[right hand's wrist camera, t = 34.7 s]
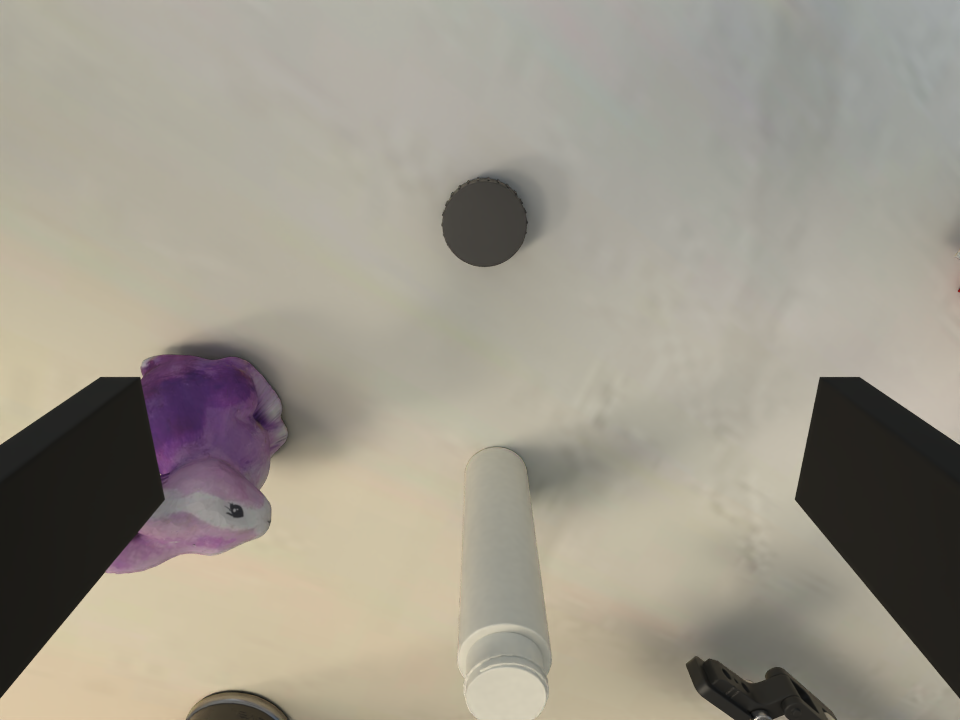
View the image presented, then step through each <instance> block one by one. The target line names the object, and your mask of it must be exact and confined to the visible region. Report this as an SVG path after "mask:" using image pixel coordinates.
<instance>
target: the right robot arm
mask: <svg viewBox="0 0 960 720" xmlns="http://www.w3.org/2000/svg"><path fill="white" fill-rule="evenodd" d="M164 500H165V497H164V492H163V487H162V482H161V477H160V472H159V467H158V462H157V457H156V453H155V448H154V443H153V438H152V433H151V428H150V423H149V418H148V413H147V408H146V403H145V399H144V394H143V389H142V384H141V379H140V377H100V378H98V379H97V380H96V381H94V382H93V383H91V384H90V385H88V386H87V387H85V388H84V389H82V390H81V391H79V392H78V393H76V394H75V395H73V396H72V397H70V398H69V399H67V400H66V401H65V402H63V403H62V404H60V405H59V406H57V407H56V408H54V409H53V410H51V411H50V412H48V413H47V414H45V415H44V416H42V417H41V418H39V419H38V420H36V421H35V422H34V423H32V424H31V425H29V426H28V427H26V428H25V429H23V430H22V431H20V432H19V433H17V434H16V435H14V436H13V437H11V438H10V439H8V440H7V441H5V442H4V443H3V444H1V445H0V698H1V697H2V696H3V695H4V693H5V692H6V691H7V690H8V688H9V687H10V686H11V685H12V684H13V682H14V681H15V680H16V679H17V678H18V676H19V675H20V674H21V673H22V672H23V670H24V669H25V668H26V667H27V666H28V664H29V663H30V662H31V661H32V660H33V658H34V657H35V656H36V655H37V654H38V652H39V651H40V650H41V649H42V647H43V646H44V645H45V644H46V643H47V641H48V640H49V639H50V638H51V637H52V635H53V634H54V633H55V632H56V631H57V629H58V628H59V627H60V626H61V625H62V623H63V622H64V621H65V620H66V619H67V617H68V616H69V615H70V614H71V613H72V611H73V610H74V609H75V608H76V606H77V605H78V604H79V603H80V602H81V600H82V599H83V598H84V597H85V596H86V594H87V593H88V592H89V591H90V590H91V588H92V587H93V586H94V585H95V584H96V582H97V581H98V580H99V579H100V578H101V576H102V575H103V574H104V573H105V572H106V570H107V569H108V568H109V567H110V565H111V564H112V563H113V562H114V561H115V559H116V558H117V557H118V556H119V555H120V553H121V552H122V551H123V550H124V549H125V547H126V546H127V545H128V544H129V543H130V541H131V540H132V539H133V538H134V537H135V535H136V534H137V533H138V532H139V531H140V529H141V528H142V527H143V526H144V524H145V523H146V522H147V521H148V520H149V518H150V517H151V516H152V515H153V514H154V512H155V511H156V510H157V509H158V508H159V506H160V505H161V504H162V503H163V502H164ZM795 500H796V502H797V503H798V504H799V505H800V506H801V508H802V509H803V510H804V511H805V512H806V514H807V515H808V516H809V517H810V518H811V520H812V521H813V522H814V523H815V524H816V526H817V527H818V528H819V529H820V531H821V532H822V533H823V534H824V535H825V537H826V538H827V539H828V540H829V541H830V543H831V544H832V545H833V546H834V547H835V549H836V550H837V551H838V552H839V553H840V555H841V556H842V557H843V558H844V559H845V561H846V562H847V563H848V564H849V565H850V567H851V568H852V569H853V570H854V572H855V573H856V574H857V575H858V576H859V578H860V579H861V580H862V581H863V582H864V584H865V585H866V586H867V587H868V588H869V590H870V591H871V592H872V593H873V594H874V596H875V597H876V598H877V599H878V600H879V602H880V603H881V604H882V605H883V606H884V608H885V609H886V610H887V611H888V613H889V614H890V615H891V616H892V617H893V619H894V620H895V621H896V622H897V623H898V625H899V626H900V627H901V628H902V629H903V631H904V632H905V633H906V634H907V635H908V637H909V638H910V639H911V640H912V641H913V643H914V644H915V645H916V646H917V647H918V649H919V650H920V651H921V652H922V654H923V655H924V656H925V657H926V658H927V660H928V661H929V662H930V663H931V664H932V666H933V667H934V668H935V669H936V670H937V672H938V673H939V674H940V675H941V676H942V678H943V679H944V680H945V681H946V682H947V684H948V685H949V686H950V687H951V688H952V690H953V691H954V692H955V693H956V695H957V696H958V697H959V698H960V445H959V444H957V443H956V442H955V441H953V440H952V439H950V438H949V437H947V436H946V435H944V434H943V433H941V432H940V431H938V430H937V429H935V428H934V427H932V426H931V425H929V424H928V423H926V422H925V421H924V420H922V419H921V418H919V417H918V416H916V415H915V414H913V413H912V412H910V411H909V410H907V409H906V408H904V407H903V406H901V405H900V404H898V403H897V402H895V401H894V400H893V399H891V398H890V397H888V396H887V395H885V394H884V393H882V392H881V391H879V390H878V389H876V388H875V387H873V386H872V385H870V384H869V383H867V382H866V381H864V380H863V379H862V378H860V377H820V379H819V384H818V389H817V394H816V399H815V403H814V408H813V413H812V418H811V423H810V428H809V433H808V438H807V443H806V448H805V452H804V457H803V462H802V467H801V472H800V477H799V482H798V487H797V492H796V497H795Z"/></svg>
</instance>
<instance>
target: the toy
mask: <svg viewBox="0 0 960 720" xmlns="http://www.w3.org/2000/svg"><path fill="white" fill-rule="evenodd" d="M954 257H956V258H958V259H960V250H959V251H958V252H957V254H956V255H955V256H954ZM958 292H960V289H959V290H958Z"/></svg>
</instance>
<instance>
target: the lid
mask: <svg viewBox="0 0 960 720" xmlns="http://www.w3.org/2000/svg"><path fill="white" fill-rule="evenodd" d="M522 204H523V202H522V201H521V199H519V198H518V196H517V193H516V191H515V190H514V191H513V190H512V189H511V188H510V187H509V186H508V184H504V183H502V182H500V181H499V180H498V179H497V180H494V179H489V177H487V178H481V179H479V177H478V178H477V179H475V180H471V181H469V180H468V181H467V183H465V184H463V185H462V186H461V185H460V186H459V187H458V189H457V190H456V191H455V192H454V193H453V192H452V194H451V197H450V199H449V201H447V202H446V205H445V206H446V208H445V210H444V211H443V214H442V216H443V222H442V227H443V236H444V237H445V240H446V243H447V245H448V246H449V248H450V249H451V251H452V252H453V253H454V254H455V255H456V256H457V257H458V258H459V259H461V260H462V261H464V262H466V263H468V264H471V265H474V266H479V267H489V266H495V265H498V264H501V263H503V262H505V261H506V260H508V259H509V258H511V257H512V256H513V255H514V254H515V253H516V252H517V251H518V249H519V248H520V246H521V245H522V243H523V240H524V238H525V234H526V228H527V224H528V222H527V220H526V214H525V213H526V210H525V208H523V206H522Z"/></svg>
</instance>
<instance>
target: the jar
mask: <svg viewBox="0 0 960 720" xmlns="http://www.w3.org/2000/svg"><path fill="white" fill-rule="evenodd" d="M551 662H552V655H551V647H550V640H549V632H548V625H547V617H546V610H545V602H544V595H543V587H542V580H541V572H540V565H539V557H538V550H537V543H536V535H535V528H534V520H533V513H532V505H531V498H530V490H529V483H528V475H527V469H526V466H525V463H524V461H523V460H522V459H521V457H520V456H519V455H517V454H516V453H515V452H513V451H511V450H509V449H506V448H501V447H492V448H487V449H484V450H481V451H480V452H478V453H476V454H475V455H474V456H473V457H472V458H471V459H470V461H469V462H468V464H467V466H466V470H465V486H464V510H463V533H462V557H461V580H460V604H459V628H458V651H457V664H458V668H459V671H460V673H461V675H462V676H463V678H464V679H465V680H464V682H463V692H464V697H465V699H466V704H467V707H468V709H469V711H470V712H471V714H472V715H473V716H474V717H475V718H476V719H478V720H534V719H535V718H536V717H538V715H539V714H540V713H541V712H542V711H543V709H544V707H545V704H546V702H547V699H548V695H549V687H548V679H547V674H548V672H549V670H550V667H551Z"/></svg>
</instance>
